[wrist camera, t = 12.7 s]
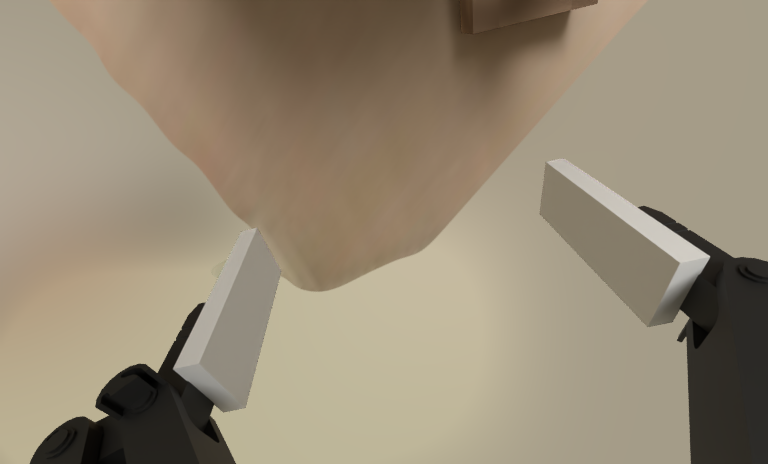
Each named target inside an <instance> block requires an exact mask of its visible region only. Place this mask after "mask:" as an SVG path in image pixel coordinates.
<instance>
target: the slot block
mask: <svg viewBox="0 0 768 464" xmlns="http://www.w3.org/2000/svg"><path fill="white" fill-rule="evenodd" d="M597 2H598V0H460V18H461V32H462V33H468V34H477V33H481V32H485V31H489V30H493V29H497V28H501V27H505V26H509V25H513V24H517V23H521V22H525V21H529V20H533V19H537V18H541V17H545V16H549V15H553V14H557V13H561V12H565V11H569V10H573V9H577V8H582V7H586V6H590V5H594V4H597Z"/></svg>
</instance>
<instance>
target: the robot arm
mask: <svg viewBox="0 0 768 464" xmlns="http://www.w3.org/2000/svg"><path fill="white" fill-rule="evenodd" d="M540 215H541V216H542V217H543V218H544V219H545V220H546V221H547V222H548V223H549V224H550V225H551V226H552V227H553V228H554V230H555V231H556V232H557V233H559V235H560V236H561V237H562V238H563V239H564V240H565V241H566V242H567V243H568V244H569V245H570V246H571V247H572V248H573V249H574V250H575V251H576V252H577V254H578V255H579V256H580V257H581V258H582V259H583V260H584V261H585V262H586V263H587V264H588V265H589V266H590V267H591V268H592V269H593V270H594V271H595V273H597V275H598V276H599V277H600V278H601V279H602V280H603V281H604V282H605V283H606V284H607V285H608V286H609V287H610V288H611V289H612V290H613V291H614V292H615V293H616V295H617V296H618V297H619V298H620V299H621V300H622V301H623V302H624V303H625V304H626V305H627V306H628V307H629V308H630V309H631V310H632V311H633V312H634V313H635V314H636V315H637V316H638V318H639V319H640V320H641V321H642V322H643V323H644V324H645V325H646V326H647V327H651V326H655V325H661V324H666V323H670V322H673V320H674V319H675V317H676V315H677V314H678V312H679V310H682V311H683V312H684V313H685V314H686V315H687V316H688V317H689V318H690V319H689V320H688V322H687V323H686V325H685V327H684V328H683V330H682V332H681V333H680V335H679V337H678V339H677V341H679V342H682V341H683V340H684V338H685V337H686V336H687V363H688V393H689V422H690V451H691V464H768V262H767V261H763V260H759V259H755V258H744V257H740V258H733V257H732V256H730V255H729V254H727V253H726V252H724V251H722V250H721V249H719V248H718V247H716V246H714V245H713V244H711V243H710V242H708V241H707V240H705V239H703V238H702V237H700V236H698V235H697V234H696V233H694V232H692V231H691V230H689V231H688V230H687V228H686V227H685V226H683V225H681V224H679V223H676V221H675V220H673V219H672V218H670V217H669V216H667V215H665V214H664V213H662V212H660V211H657V210H654V209H651V208H649V207H646V206H641V207H636V206H634V205H633V204H631V203H630V202H628V201H627V200H625V199H624V198H622V197H621V196H619V195H618V194H616V193H615V192H613V191H612V190H610V189H609V188H607V187H606V186H604V185H603V184H602V183H600V182H599V181H597V180H596V179H594V178H593V177H591V176H590V175H588V174H586V173H585V172H584V171H582V170H581V169H579V168H578V167H576V166H575V165H573V164H572V163H570V162H569V161H567V160H565V159H564V158H561V159H557V160H553V161H548V162H546V165H545V174H544V182H543V191H542V199H541V207H540ZM280 274H281V269H280V267H279V266H278V264H277V262H276V260H275V258H274V257H273V255H272V253H271V251H270V249H269V248H268V246H267V244H266V242H265V241H264V239H263V237H262V235H261V233H260V232H259V230H258V228H253V229H249V230H245V231H241V233H240V235H239V237H238V239H237V241H236V243H235V245H234V247H233V249H232V251H231V253H230V255H229V257H228V259H227V261H226V263H225V265H224V267H223V269H222V271H221V273H220V275H219V277H218V279H217V281H216V283H215V285H214V287H213V289H212V291H211V293H210V295H209V297H208V299H207V301H206V302H205V303H201V304H198V305H197V307H196V308H195V309H194V310H193V311H192V312H191V313H190V314H189V315H188V317H187V319H186V321H185V323H184V324H183V326H182V330H181V331H180V332H179V334H178V336H177V337H176V341H174V343H173V345H172V347H171V349H170V351H169V352H168V354H167V356H166V358H165V360H164V362H163V364H162V366H161V368H160V369H159V371H158V373H156V372H155V371H154V370H152V369H151V368H150V367H148V366H147V365H146V364H137V365H133V366H130V367H128V368H127V369H125V370H123V371H122V372H120V373H118V374H117V375H116V376H115V377H114V378H112V379H111V380H110V381H109V382H108V383H107V384H106V386H105V387H104V388H103V389H102V390H101V393H100V394H99V396H98V398H97V400H96V406H95V407H96V408H98V409H99V410H101V411H103V412H104V413H106V414H108V415H109V416H107V417H105V418H103V419H101V420H99V421H97V422H93V421H92V420H90V419H88V418H86V417H76V418H73V419H71V420H69V421H67V422H65V423H64V424H62V425H61V426H59V427H58V428H56V429H55V430H54V431H53V432H52V433H51V434H50V435H49V436H48V437H47V438H45V440H44V441H43V442H42V444H41V445H40V446H39V447H38V449H37V450H36V452H35V454H34V455H33V457H32V459H31V462H30V464H236V463H235V461H234V459H233V457H232V455H231V453H230V450H229V448H228V446H227V444H226V442H225V440H224V438H223V436H222V434H221V432H220V430H219V428H218V426H217V424H216V422H215V421H214V419H213V418H212V417H211V416H210V414H211V411H212V409H213V406H214V405H215V406H216V407H218V408H219V409H220V410H221V411H222V412H227V411H233V410H237V409H242V408H245V407H246V404H247V400H248V396H249V392H250V388H251V384H252V381H253V377H254V373H255V369H256V365H257V362H258V358H259V354H260V350H261V347H262V342H263V339H264V335H265V331H266V328H267V324H268V320H269V316H270V312H271V308H272V305H273V301H274V297H275V293H276V290H277V286H278V281H279V278H280Z"/></svg>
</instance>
